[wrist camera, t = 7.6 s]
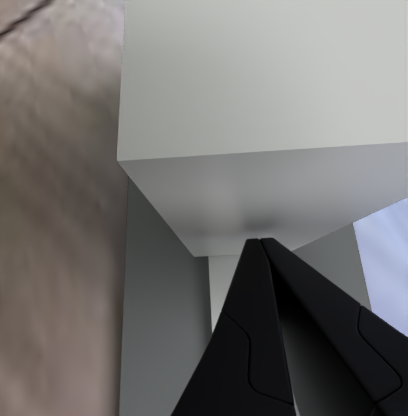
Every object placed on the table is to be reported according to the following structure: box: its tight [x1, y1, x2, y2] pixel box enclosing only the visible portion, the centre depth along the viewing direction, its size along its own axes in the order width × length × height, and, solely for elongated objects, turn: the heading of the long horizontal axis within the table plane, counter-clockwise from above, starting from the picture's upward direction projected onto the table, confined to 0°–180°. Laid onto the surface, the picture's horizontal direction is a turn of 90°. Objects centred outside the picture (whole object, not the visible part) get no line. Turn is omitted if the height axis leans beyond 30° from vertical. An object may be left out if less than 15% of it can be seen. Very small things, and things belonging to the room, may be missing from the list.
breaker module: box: [117, 0, 408, 257], centre depth 9 cm, size 6×5×12 cm
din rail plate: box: [119, 176, 372, 416], centre depth 13 cm, size 20×13×4 cm, turn 3°
